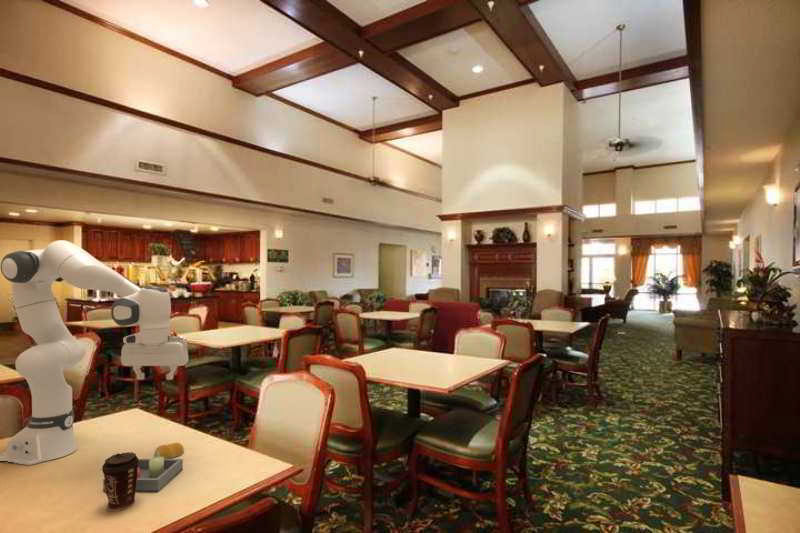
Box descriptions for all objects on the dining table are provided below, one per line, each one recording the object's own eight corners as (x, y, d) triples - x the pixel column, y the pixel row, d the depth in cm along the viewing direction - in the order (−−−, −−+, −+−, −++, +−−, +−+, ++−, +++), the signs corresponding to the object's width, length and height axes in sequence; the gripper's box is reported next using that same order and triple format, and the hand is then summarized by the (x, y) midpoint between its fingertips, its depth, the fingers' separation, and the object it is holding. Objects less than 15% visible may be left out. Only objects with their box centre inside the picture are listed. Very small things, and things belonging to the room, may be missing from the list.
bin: (103, 491, 127) (103, 479, 127) (133, 469, 141) (133, 458, 141) (158, 492, 126) (158, 480, 126) (182, 469, 140) (182, 458, 140)
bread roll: (187, 454, 152) (187, 443, 152) (159, 463, 146) (159, 451, 146) (177, 448, 158) (178, 437, 158) (150, 455, 151) (150, 444, 151)
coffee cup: (114, 496, 124) (114, 450, 124) (144, 495, 124) (145, 450, 125) (95, 514, 115) (95, 464, 115) (128, 512, 116) (128, 463, 116)
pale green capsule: (153, 472, 137) (153, 456, 137) (166, 472, 137) (166, 456, 137) (146, 478, 133) (146, 462, 133) (159, 478, 133) (159, 462, 133)
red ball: (129, 478, 134) (128, 463, 134) (144, 477, 134) (143, 463, 134) (120, 485, 129) (119, 470, 129) (135, 485, 129) (134, 470, 129)
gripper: (192, 335, 144) (192, 377, 144) (130, 334, 144) (130, 376, 144) (182, 338, 137) (182, 381, 137) (117, 337, 138) (117, 381, 138)
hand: (155, 379), depth 141 cm, fingers open, 8 cm apart
